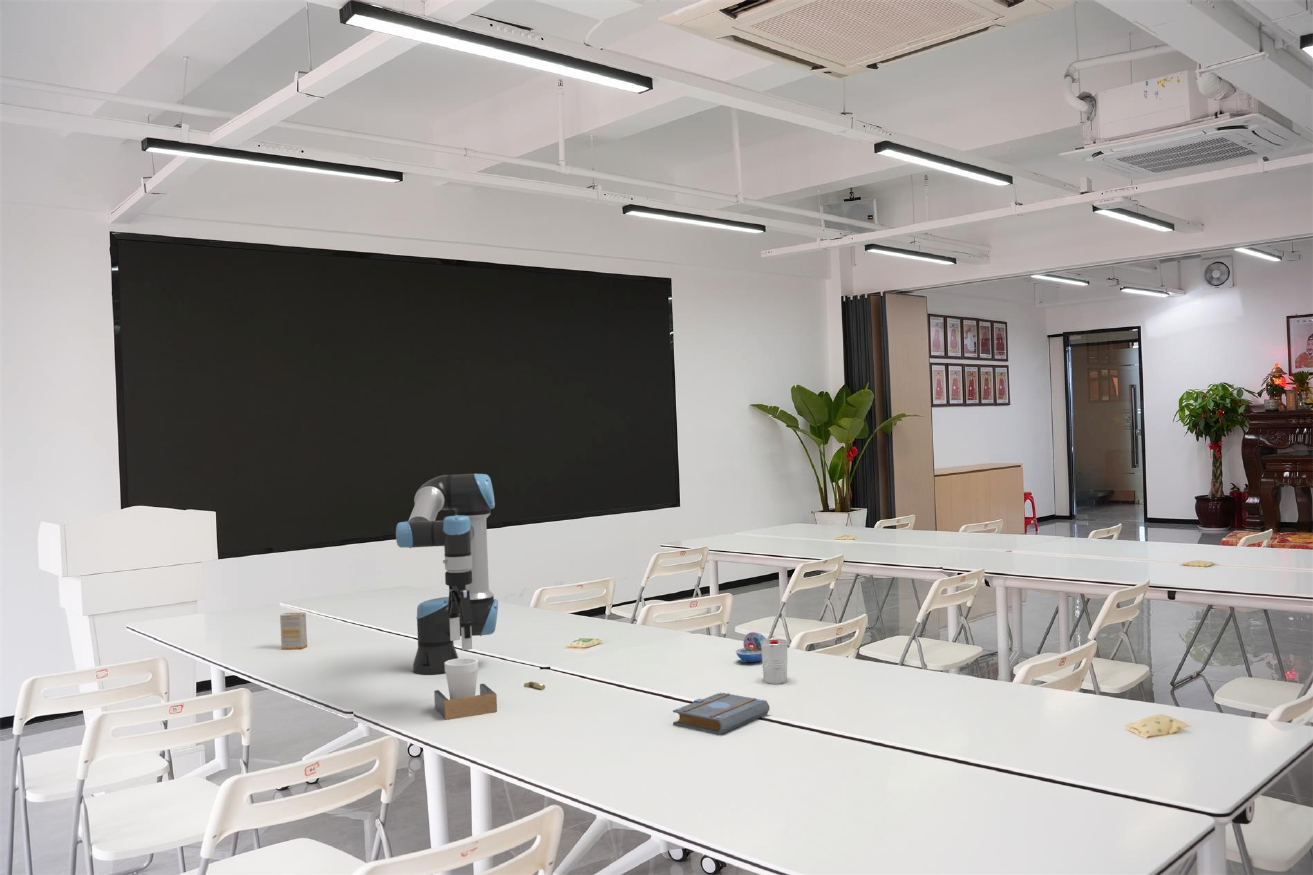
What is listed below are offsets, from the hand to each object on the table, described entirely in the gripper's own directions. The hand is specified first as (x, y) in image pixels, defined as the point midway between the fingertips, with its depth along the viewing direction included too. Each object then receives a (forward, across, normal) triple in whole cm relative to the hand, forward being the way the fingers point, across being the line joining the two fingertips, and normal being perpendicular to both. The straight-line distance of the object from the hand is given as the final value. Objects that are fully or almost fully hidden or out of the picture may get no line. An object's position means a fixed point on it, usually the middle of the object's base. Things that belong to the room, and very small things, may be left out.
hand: (461, 644), depth 276 cm
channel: (+18, +3, 0) cm, 18 cm away
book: (+18, +50, +56) cm, 77 cm away
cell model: (+19, -1, +97) cm, 99 cm away
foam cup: (+18, 0, 0) cm, 18 cm away
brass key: (+18, -8, +25) cm, 32 cm away
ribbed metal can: (+18, +24, +90) cm, 95 cm away
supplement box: (+20, -115, -35) cm, 122 cm away
